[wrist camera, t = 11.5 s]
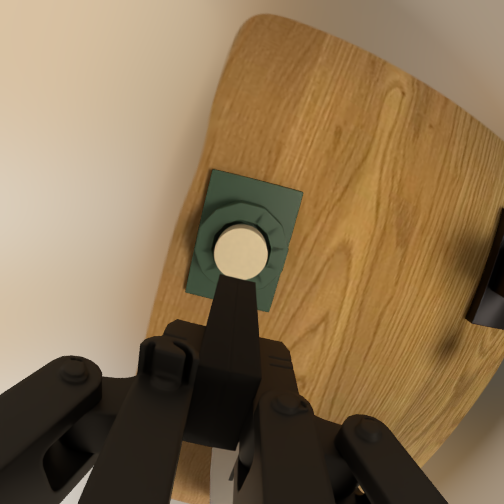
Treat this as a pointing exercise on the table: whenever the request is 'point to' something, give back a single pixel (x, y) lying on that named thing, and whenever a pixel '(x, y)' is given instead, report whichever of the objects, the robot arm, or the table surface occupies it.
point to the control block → (250, 213)
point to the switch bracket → (491, 286)
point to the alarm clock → (222, 475)
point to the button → (241, 252)
